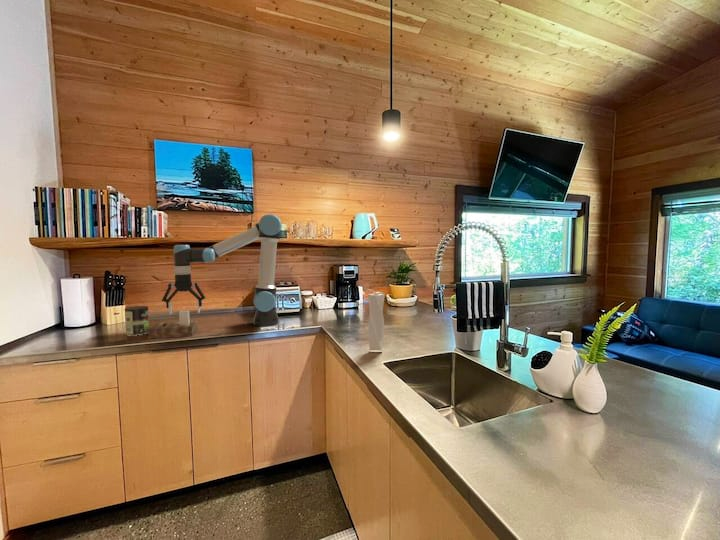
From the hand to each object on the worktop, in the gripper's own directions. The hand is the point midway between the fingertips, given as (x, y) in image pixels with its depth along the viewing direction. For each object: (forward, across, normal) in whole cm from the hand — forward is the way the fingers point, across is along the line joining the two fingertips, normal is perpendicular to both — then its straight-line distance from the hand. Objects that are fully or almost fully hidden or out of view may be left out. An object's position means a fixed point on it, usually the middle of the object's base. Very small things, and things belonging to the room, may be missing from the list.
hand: (184, 313), depth 171 cm
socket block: (+11, +5, 0) cm, 12 cm away
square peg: (+11, 0, 0) cm, 11 cm away
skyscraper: (+12, -89, +56) cm, 106 cm away
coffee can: (+11, +24, -6) cm, 27 cm away
